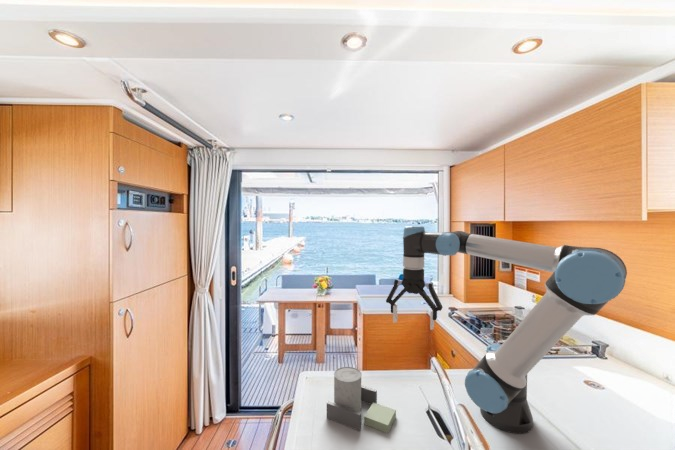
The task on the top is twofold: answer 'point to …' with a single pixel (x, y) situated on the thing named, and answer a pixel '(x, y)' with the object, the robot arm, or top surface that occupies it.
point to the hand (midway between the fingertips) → (413, 325)
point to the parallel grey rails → (349, 415)
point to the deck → (380, 417)
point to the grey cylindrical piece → (348, 388)
